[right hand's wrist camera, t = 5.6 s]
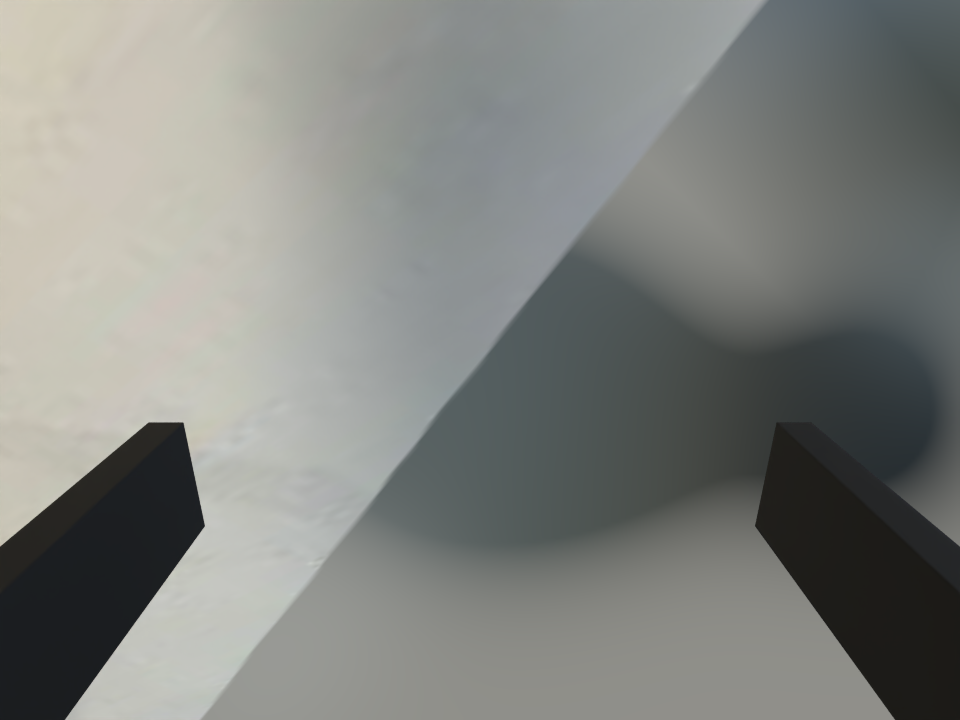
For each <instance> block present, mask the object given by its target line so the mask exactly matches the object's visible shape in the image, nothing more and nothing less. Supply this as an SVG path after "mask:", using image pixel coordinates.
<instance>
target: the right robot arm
mask: <svg viewBox="0 0 960 720" xmlns="http://www.w3.org/2000/svg"><path fill="white" fill-rule="evenodd" d="M204 527H205V524H204V520H203V515H202V510H201V505H200V500H199V495H198V491H197V486H196V481H195V476H194V471H193V467H192V462H191V457H190V452H189V447H188V442H187V438H186V433H185V428H184V423H148V424H146V425H145V426H144V427H143V428H142V429H140V430H139V431H138V432H137V433H136V434H134V435H133V436H132V437H131V438H130V439H128V440H127V441H126V442H125V443H124V444H122V445H121V446H120V447H119V448H118V449H117V450H115V451H114V452H113V453H112V454H111V455H109V456H108V457H107V458H106V459H105V460H103V461H102V462H101V463H100V464H99V465H97V466H96V467H95V468H94V469H93V470H91V471H90V472H89V473H88V474H87V475H85V476H84V477H83V478H82V479H81V480H79V481H78V482H77V483H76V484H75V485H73V486H72V487H71V488H70V489H69V490H67V491H66V492H65V493H64V494H63V495H61V496H60V497H59V498H58V499H57V500H56V501H54V502H53V503H52V504H51V505H50V506H48V507H47V508H46V509H45V510H44V511H42V512H41V513H40V514H39V515H38V516H36V517H35V518H34V519H33V520H32V521H30V522H29V523H28V524H27V525H26V526H24V527H23V528H22V529H21V530H20V531H18V532H17V533H16V534H15V535H14V536H12V537H11V538H10V539H9V540H8V541H6V542H5V543H4V544H3V545H2V546H0V720H65V719H66V717H67V716H68V715H69V713H70V712H71V711H72V709H73V708H74V706H75V705H76V704H77V702H78V701H79V699H80V698H81V697H82V695H83V694H84V693H85V691H86V690H87V688H88V687H89V686H90V684H91V683H92V681H93V680H94V679H95V677H96V676H97V675H98V673H99V672H100V670H101V669H102V668H103V666H104V665H105V663H106V662H107V661H108V659H109V658H110V657H111V655H112V654H113V652H114V651H115V650H116V648H117V647H118V646H119V644H120V643H121V641H122V640H123V639H124V637H125V636H126V634H127V633H128V632H129V630H130V629H131V628H132V626H133V625H134V623H135V622H136V621H137V619H138V618H139V616H140V615H141V614H142V612H143V611H144V610H145V608H146V607H147V605H148V604H149V603H150V601H151V600H152V599H153V597H154V596H155V594H156V593H157V592H158V590H159V589H160V587H161V586H162V585H163V583H164V582H165V581H166V579H167V578H168V576H169V575H170V574H171V572H172V571H173V569H174V568H175V567H176V565H177V564H178V563H179V561H180V560H181V558H182V557H183V556H184V554H185V553H186V551H187V550H188V549H189V547H190V546H191V545H192V543H193V542H194V540H195V539H196V538H197V536H198V535H199V534H200V532H201V531H202V529H203V528H204ZM755 527H756V528H757V529H758V531H759V532H760V534H761V535H762V536H763V538H764V539H765V540H766V542H767V543H768V544H769V546H770V547H771V549H772V550H773V551H774V553H775V554H776V556H777V557H778V558H779V560H780V561H781V563H782V564H783V565H784V567H785V568H786V569H787V571H788V572H789V574H790V575H791V576H792V578H793V579H794V580H795V582H796V583H797V585H798V586H799V587H800V589H801V590H802V592H803V593H804V594H805V596H806V597H807V599H808V600H809V601H810V603H811V604H812V605H813V607H814V608H815V610H816V611H817V612H818V614H819V615H820V616H821V618H822V619H823V621H824V622H825V623H826V625H827V626H828V628H829V629H830V630H831V632H832V633H833V634H834V636H835V637H836V639H837V640H838V641H839V643H840V644H841V646H842V647H843V648H844V650H845V651H846V652H847V654H848V655H849V657H850V658H851V659H852V661H853V662H854V663H855V665H856V666H857V668H858V669H859V670H860V672H861V673H862V675H863V676H864V677H865V679H866V680H867V681H868V683H869V684H870V686H871V687H872V688H873V690H874V691H875V693H876V694H877V695H878V697H879V698H880V699H881V701H882V702H883V704H884V705H885V706H886V708H887V709H888V711H889V712H890V713H891V715H892V716H893V717H894V719H895V720H960V547H959V546H958V545H957V544H956V543H955V542H954V541H952V540H951V539H950V538H949V537H947V536H946V535H945V534H944V533H943V532H942V531H940V530H939V529H938V528H937V527H936V526H934V525H933V524H932V523H931V522H930V521H928V520H927V519H926V518H925V517H924V516H922V515H921V514H920V513H919V512H918V511H916V510H915V509H914V508H913V507H912V506H910V505H909V504H908V503H907V502H906V501H904V500H903V499H902V498H901V497H900V496H899V495H897V494H896V493H895V492H894V491H893V490H891V489H890V488H889V487H888V486H886V485H885V484H884V483H883V482H882V481H881V480H879V479H878V478H877V477H876V476H875V475H873V474H872V473H871V472H870V471H869V470H867V469H866V468H865V467H864V466H863V465H861V464H860V463H859V462H858V461H857V460H855V459H854V458H853V457H852V456H851V455H849V454H848V453H847V452H846V451H845V450H843V449H842V448H841V447H840V446H839V445H838V444H836V443H835V442H834V441H833V440H831V439H830V438H829V437H828V436H827V435H826V434H824V433H823V432H822V431H821V430H819V429H818V428H817V427H816V426H815V425H814V424H812V423H776V428H775V433H774V438H773V443H772V448H771V452H770V457H769V462H768V466H767V471H766V476H765V481H764V486H763V491H762V495H761V500H760V505H759V510H758V515H757V519H756V524H755Z"/></svg>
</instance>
